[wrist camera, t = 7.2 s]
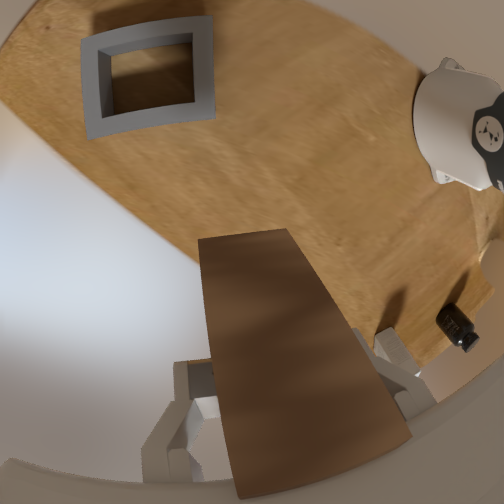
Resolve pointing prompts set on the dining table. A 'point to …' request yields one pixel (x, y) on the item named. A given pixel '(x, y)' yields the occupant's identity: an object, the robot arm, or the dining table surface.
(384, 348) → the skincare box
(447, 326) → the supplement bottle
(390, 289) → the dining table surface
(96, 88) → the holder
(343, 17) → the dining table surface
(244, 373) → the walnut peg
